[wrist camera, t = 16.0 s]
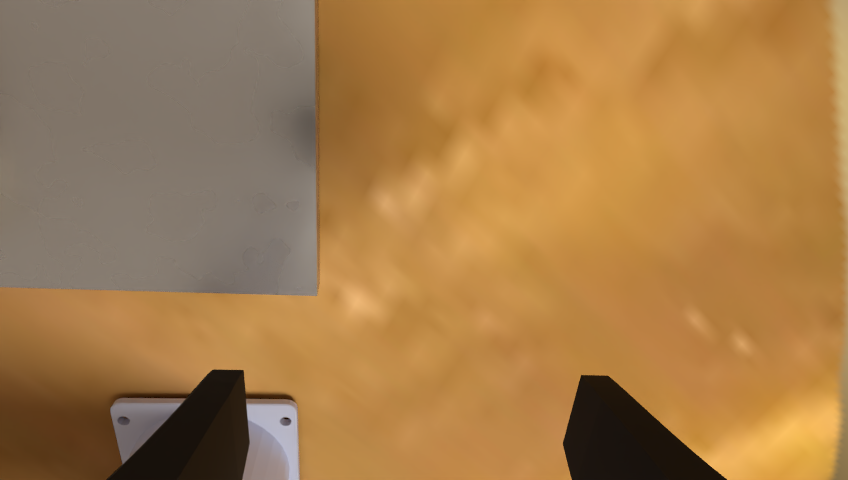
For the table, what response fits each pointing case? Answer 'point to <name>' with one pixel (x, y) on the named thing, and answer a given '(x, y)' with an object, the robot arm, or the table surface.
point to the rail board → (160, 145)
